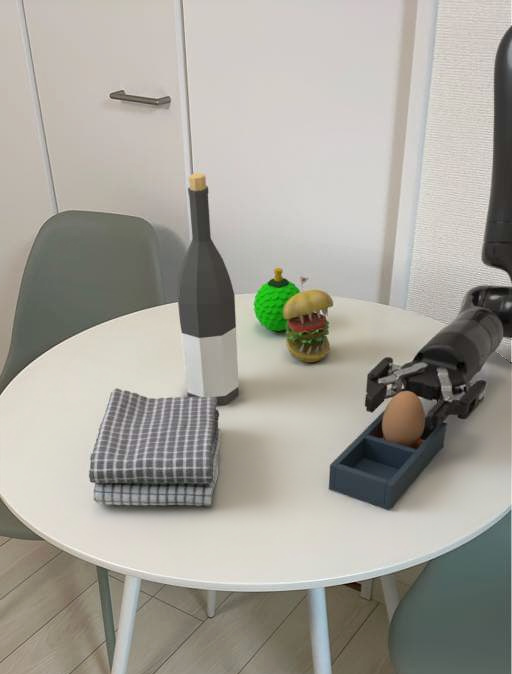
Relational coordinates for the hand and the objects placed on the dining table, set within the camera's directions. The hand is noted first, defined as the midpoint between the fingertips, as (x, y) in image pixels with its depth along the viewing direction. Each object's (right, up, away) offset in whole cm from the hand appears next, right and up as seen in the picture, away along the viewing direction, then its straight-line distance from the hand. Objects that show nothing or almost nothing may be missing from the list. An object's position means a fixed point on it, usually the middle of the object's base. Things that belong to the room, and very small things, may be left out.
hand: (398, 413), depth 90 cm
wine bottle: (-22, +6, +21) cm, 31 cm away
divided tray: (0, -6, +4) cm, 7 cm away
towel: (-29, -6, +7) cm, 30 cm away
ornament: (-11, +20, +36) cm, 42 cm away
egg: (+2, -4, +6) cm, 7 cm away
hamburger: (-7, +14, +28) cm, 32 cm away
